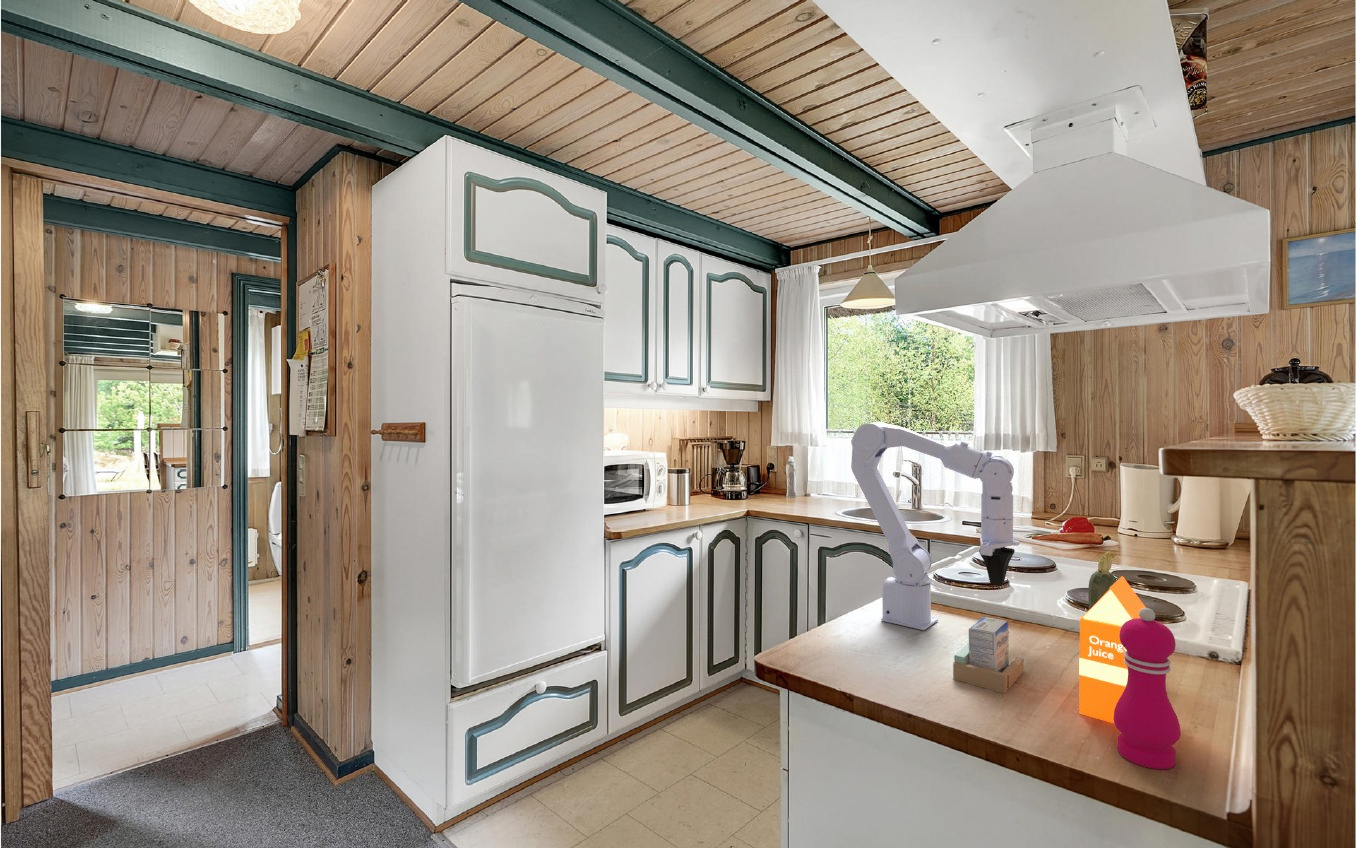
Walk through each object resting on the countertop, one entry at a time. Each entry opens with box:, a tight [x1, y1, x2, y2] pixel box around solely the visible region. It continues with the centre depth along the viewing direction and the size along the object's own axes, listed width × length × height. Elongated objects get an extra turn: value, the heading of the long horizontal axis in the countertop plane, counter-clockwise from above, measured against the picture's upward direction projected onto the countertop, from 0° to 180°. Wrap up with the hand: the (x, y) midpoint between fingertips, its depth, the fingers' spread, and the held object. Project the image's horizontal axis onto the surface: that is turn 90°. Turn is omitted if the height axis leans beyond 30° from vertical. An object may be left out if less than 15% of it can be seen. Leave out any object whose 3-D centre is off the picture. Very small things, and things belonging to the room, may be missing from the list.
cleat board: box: [952, 642, 1025, 694], centre depth 114 cm, size 8×21×4 cm, turn 138°
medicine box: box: [968, 616, 1010, 672], centre depth 112 cm, size 8×4×9 cm, turn 138°
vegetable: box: [1088, 549, 1118, 611], centre depth 117 cm, size 4×4×20 cm
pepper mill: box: [1113, 607, 1182, 770], centre depth 85 cm, size 7×7×20 cm
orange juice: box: [1078, 575, 1147, 724], centre depth 97 cm, size 8×9×20 cm
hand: (996, 584), depth 129 cm, fingers closed
